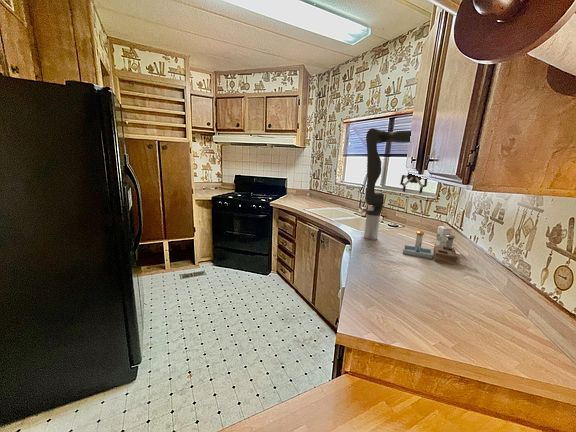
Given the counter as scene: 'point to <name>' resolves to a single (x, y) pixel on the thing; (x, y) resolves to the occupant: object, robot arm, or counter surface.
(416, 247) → the pin
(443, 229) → the syrup box
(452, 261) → the wooden socket block
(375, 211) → the robot arm
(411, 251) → the tray
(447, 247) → the pin
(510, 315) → the counter surface
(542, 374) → the counter surface
